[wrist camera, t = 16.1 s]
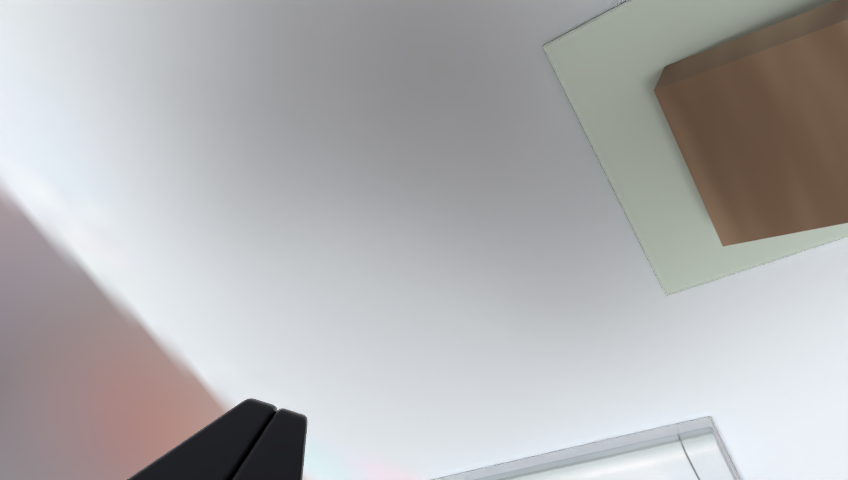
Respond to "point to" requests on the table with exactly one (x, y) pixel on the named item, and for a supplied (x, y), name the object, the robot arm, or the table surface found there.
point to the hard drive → (627, 458)
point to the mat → (664, 127)
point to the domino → (767, 126)
